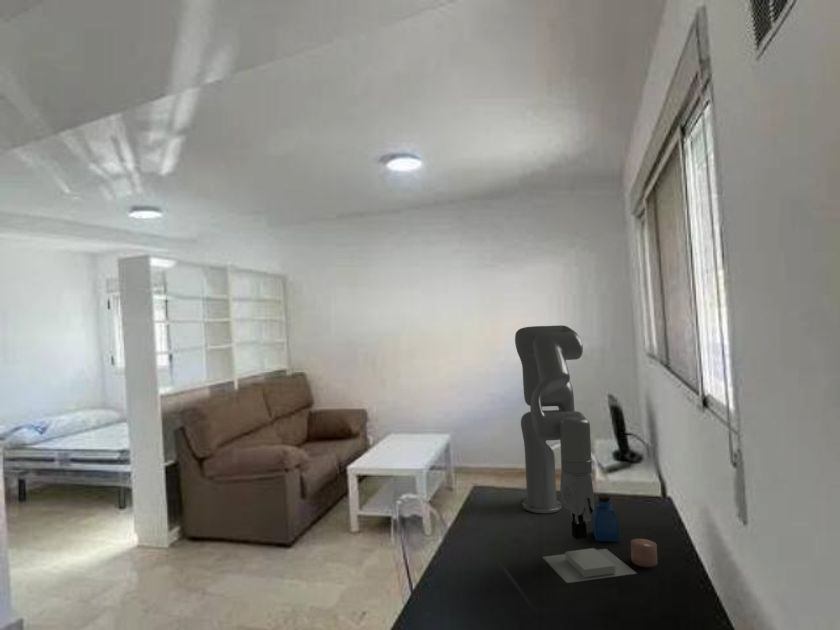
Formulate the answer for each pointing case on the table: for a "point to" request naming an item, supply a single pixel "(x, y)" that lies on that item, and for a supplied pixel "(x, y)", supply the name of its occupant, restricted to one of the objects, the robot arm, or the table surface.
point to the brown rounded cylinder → (644, 552)
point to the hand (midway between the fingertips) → (579, 537)
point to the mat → (573, 575)
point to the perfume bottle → (605, 520)
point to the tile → (590, 562)
